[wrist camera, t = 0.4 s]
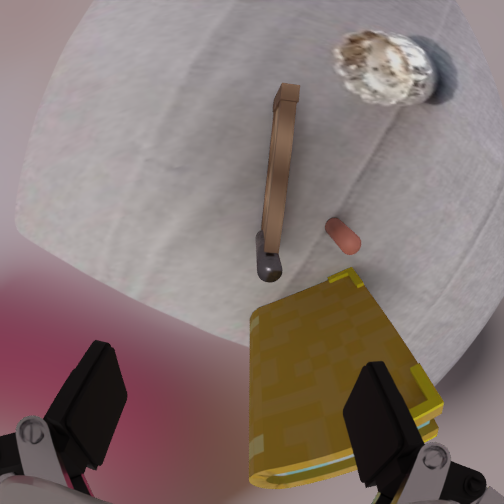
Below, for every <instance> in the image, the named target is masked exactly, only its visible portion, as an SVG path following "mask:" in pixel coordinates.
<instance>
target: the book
mask: <svg viewBox="0 0 504 504" xmlns="http://www.w3.org/2000/svg"><path fill="white" fill-rule="evenodd" d="M327 278H328V280H327V281H325V282H323V283H320V284H318V285H315V286H313V287H311V288H308V289H306V290H303V291H301V292H298V293H296V294H293V295H291V296H288V297H286V298H283V299H281V300H278V301H275V302H273V303H270V304H268V305H265V306H262V307H260V308H258V309H257V310H255V311H254V312H253V313H252V315H251V318H250V390H249V393H250V394H249V395H250V396H249V398H250V399H249V400H250V402H249V481H250V483H251V484H253V485H254V486H257V487H261V488H268V489H283V488H291V487H296V486H300V485H305V484H309V483H314V482H317V481H321V480H325V479H329V478H332V477H336V476H339V475H342V474H346V473H349V472H352V471H355V470H358V469H357V465H356V462H355V458H354V454H353V450H352V446H351V443H350V439H349V435H348V432H347V428H346V425H345V421H344V418H343V408H344V406H345V404H346V402H347V400H348V398H349V396H350V393H351V391H352V389H353V387H354V385H355V383H356V381H357V378H358V376H359V374H360V372H361V369H362V367H363V366H366V364H367V363H368V362H372V361H383V362H384V363H385V365H386V367H387V369H388V371H389V373H390V374H391V376H392V378H393V380H394V382H395V384H396V386H397V388H398V390H399V392H400V393H401V395H402V397H403V399H404V401H405V403H406V405H407V407H408V409H409V411H410V413H411V415H412V418H413V420H414V422H415V424H416V426H417V428H418V430H419V433H420V435H421V437H422V439H423V442H424V443H425V442H427V441H428V440H430V439H432V438H434V437H436V436H437V433H438V428H439V427H438V426H437V424H436V422H435V420H434V418H435V417H436V416H438V415H440V414H441V413H442V409H443V403H444V402H443V400H442V398H441V396H440V395H439V394H438V392H437V391H436V389H435V387H434V386H433V384H432V382H431V381H430V379H429V377H428V376H427V374H426V373H425V371H424V369H423V368H422V366H421V365H420V363H419V364H418V363H417V361H416V359H415V358H414V356H413V355H412V353H411V352H410V350H409V349H408V347H407V346H406V344H405V343H404V341H403V340H402V338H401V337H400V335H399V334H398V332H397V331H396V329H395V328H394V326H393V325H392V323H391V322H390V320H389V319H388V318H387V316H386V315H385V313H384V312H383V310H382V309H381V308H380V306H379V305H378V303H377V302H376V301H375V299H374V298H373V296H372V295H371V294H370V292H369V291H368V290H367V288H366V287H365V285H364V283H363V281H362V280H361V279H360V277H359V276H358V275H357V273H356V272H355V271H354V269H353V268H352V267H350V268H348V269H346V270H343V271H341V272H339V273H336V274H334V275H332V276H329V277H327Z"/></svg>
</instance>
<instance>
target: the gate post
mask: <svg viewBox="0 0 504 504" xmlns="http://www.w3.org/2000/svg"><path fill="white" fill-rule="evenodd" d="M264 241H265V240H264V233H263V230H261V231H259V232H258V233H257V235H256V254H257V273H258V276H259V278H260V279H261V280H263V281H265V282H274V281H276V280H278V279H279V278H280V277H281V275H282V266H281V262H280V258H279V254H278V253H268V252H264Z"/></svg>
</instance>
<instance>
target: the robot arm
mask: <svg viewBox="0 0 504 504" xmlns="http://www.w3.org/2000/svg"><path fill="white" fill-rule="evenodd" d="M126 401H127V391H126V388H125V385H124V382H123V378H122V375H121V372H120V368H119V365H118V361H117V358H116V354H115V350H114V348H112V347H111V345H110V344H109V343H106V342H102V341H98V340H95V341H94V342H93V343H92V344H91V346H90V347H89V349H88V350H87V352H86V353H85V355H84V356H83V358H82V359H81V361H80V362H79V364H78V365H77V367H76V368H75V369H74V370H73V371H72V372H71V374H70V376H69V377H68V379H67V380H66V381H65V383H64V385H63V386H62V388H61V389H60V391H59V393H58V394H57V396H56V398H55V399H54V401H53V403H52V404H51V406H50V408H49V410H48V411H47V413H46V415H45V416H44V418H43V419H42V418H40V417H38V416H27V417H24V418H23V419H22V420H20V422H19V423H18V424H17V427H16V432H15V433H11V434H8V435H3V436H0V504H112V503H109V502H106V501H103V500H100V499H97V498H95V497H94V495H93V493H92V491H91V488H90V486H89V484H88V482H87V480H86V478H85V475H84V472H85V469H86V467H88V468H91V469H93V470H97V467H98V465H99V466H101V465H102V464H103V461H104V458H105V456H106V453H107V450H108V447H109V444H110V442H111V439H112V436H113V434H114V431H115V429H116V426H117V423H118V421H119V418H120V415H121V413H122V411H123V408H124V406H125V403H126ZM343 418H344V421H345V425H346V428H347V432H348V435H349V439H350V443H351V446H352V450H353V454H354V458H355V462H356V465H357V469H358V473H359V477H360V480H361V482H362V483H365V486H366V488H367V487H371V486H376V485H377V488H378V493H377V495H376V497H375V499H374V500H373V502H372V504H504V497H503V496H502V495H501V494H499V493H498V492H497V491H496V490H494V489H493V488H492V487H490V486H489V487H488V488H487V487H486V479H485V477H484V476H483V475H482V473H480V472H478V471H476V470H473V469H470V468H467V467H465V466H462V465H460V464H457V463H454V462H452V461H451V456H450V452H449V451H448V449H447V448H446V447H445V446H444V445H442V444H440V443H437V442H430V443H427V444H424V442H423V439H422V437H421V435H420V433H419V430H418V428H417V426H416V424H415V422H414V420H413V418H412V415H411V413H410V411H409V409H408V407H407V405H406V403H405V401H404V399H403V397H402V395H401V393H400V392H399V390H398V388H397V386H396V384H395V382H394V380H393V378H392V376H391V374H390V373H389V371H388V369H387V367H386V365H385V363H384V362H383V361H372V362H368V363H367V364H366V366H363V367H362V369H361V372H360V374H359V376H358V378H357V381H356V383H355V385H354V387H353V389H352V391H351V393H350V396H349V398H348V400H347V402H346V404H345V406H344V408H343Z"/></svg>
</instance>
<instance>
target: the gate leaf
mask: <svg viewBox="0 0 504 504" xmlns="http://www.w3.org/2000/svg"><path fill="white" fill-rule="evenodd" d="M299 91H300V85H294V84H287V83H282V84H281V86H280V88H279V90H278V92H277V94H276V96H275V99H274V104H273V112H274V114H273V124H272V133H271V143H270V152H269V161H268V171H267V180H266V189H265V198H264V207H263V216H262V226H261V230H263V233H264V240H265V241H264V252H268V253H279V247H280V239H281V232H282V224H283V217H284V209H285V201H286V193H287V185H288V177H289V168H290V160H291V151H292V142H293V133H294V124H295V114H296V104H297V103H298V102H299Z"/></svg>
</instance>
